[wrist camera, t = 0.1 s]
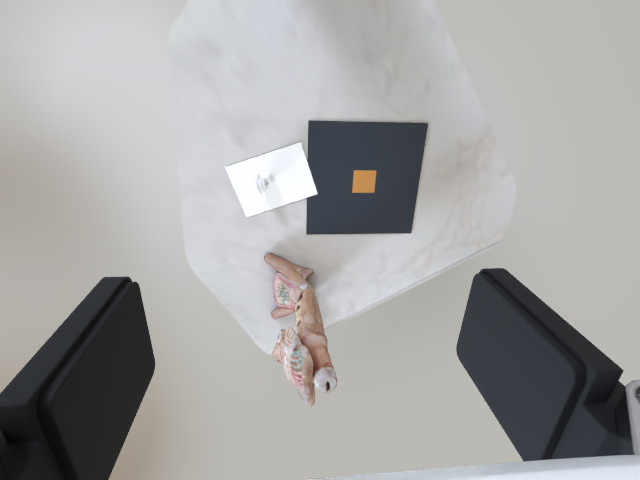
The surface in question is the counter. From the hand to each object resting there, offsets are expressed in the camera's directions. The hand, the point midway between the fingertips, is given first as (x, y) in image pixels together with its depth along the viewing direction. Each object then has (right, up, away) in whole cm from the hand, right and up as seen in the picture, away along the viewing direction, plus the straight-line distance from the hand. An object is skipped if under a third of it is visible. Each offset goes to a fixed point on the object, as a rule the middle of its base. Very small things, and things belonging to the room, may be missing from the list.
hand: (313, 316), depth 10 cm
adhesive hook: (-6, +10, +36) cm, 37 cm away
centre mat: (+6, +10, +37) cm, 39 cm away
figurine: (-4, -5, +43) cm, 43 cm away
